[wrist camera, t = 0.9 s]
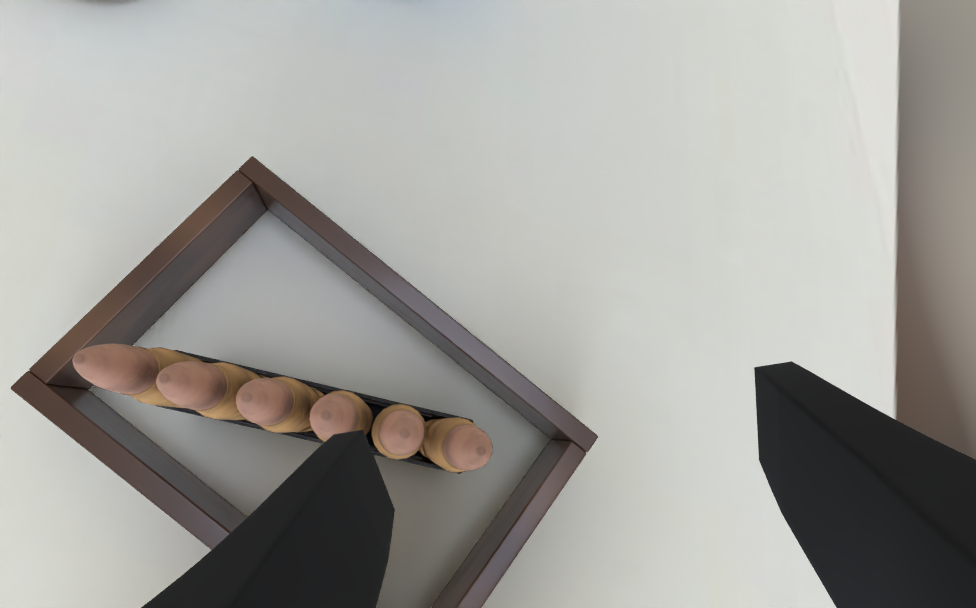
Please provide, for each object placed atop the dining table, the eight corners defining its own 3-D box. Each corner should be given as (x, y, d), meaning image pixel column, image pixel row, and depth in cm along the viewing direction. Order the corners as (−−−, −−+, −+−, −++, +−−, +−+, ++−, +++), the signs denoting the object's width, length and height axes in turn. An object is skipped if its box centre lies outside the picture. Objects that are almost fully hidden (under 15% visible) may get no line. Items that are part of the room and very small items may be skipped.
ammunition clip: (194, 408, 23) (11, 391, 12) (209, 363, 24) (47, 305, 12) (451, 465, 25) (512, 501, 13) (461, 422, 25) (529, 420, 14)
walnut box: (407, 675, 23) (411, 711, 20) (56, 392, 23) (8, 388, 20) (574, 435, 26) (599, 436, 23) (266, 185, 26) (251, 155, 23)
